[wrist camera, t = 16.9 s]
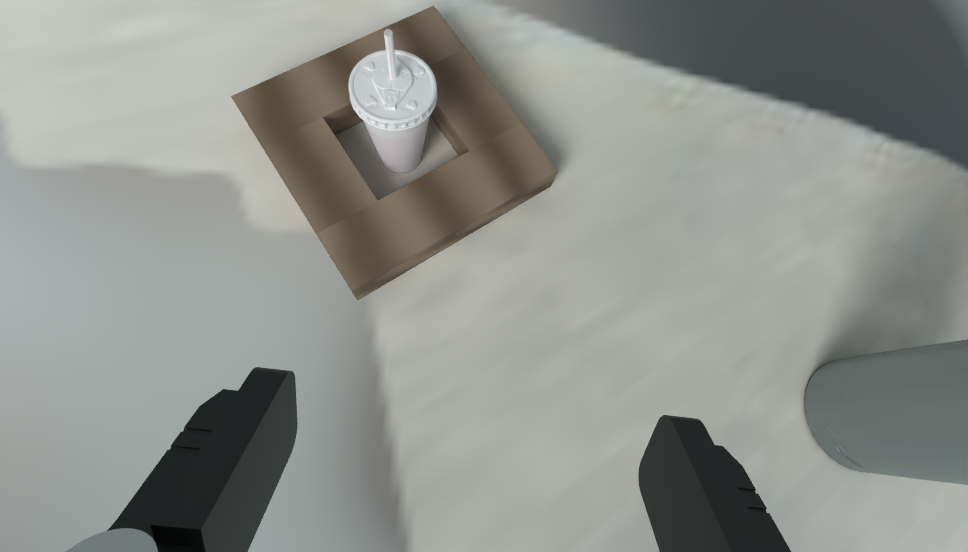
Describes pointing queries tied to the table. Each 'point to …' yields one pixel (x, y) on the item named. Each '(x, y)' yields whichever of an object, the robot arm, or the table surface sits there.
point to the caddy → (422, 203)
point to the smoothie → (394, 103)
